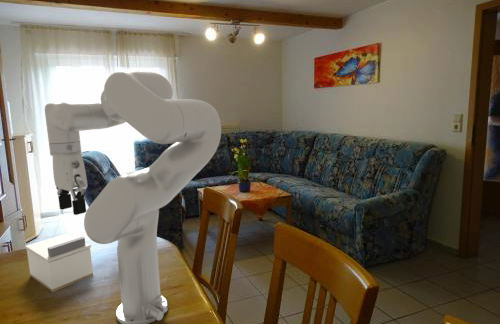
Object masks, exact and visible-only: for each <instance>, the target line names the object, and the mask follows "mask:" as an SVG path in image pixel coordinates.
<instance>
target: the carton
mask: <svg viewBox="0 0 500 324" xmlns="http://www.w3.org/2000/svg"><path fill="white" fill-rule="evenodd" d="M26 253H27V261H28V262H27V263H28V267H29V273H30V274H29V275H30V277H31V278H33V279H34V280H36V281H37V282H38V283H39V284H41V285H42V286H43V287H45V288H46V289H47V290H49V291H50V292H51V293H54V292H57V291H59V290H62V289H64V288H66V287H68V286H70V285H73V284H75V283H78V282H81V281H82V280H85V279H88V278H90V277H92V276H94V273H93V271H94V270H93V263H92V252H91V248H88V249H85V250H82V251H79V252H77V253H74V254H71V255H68V256H65V257H62V258H60V259H57V260H54V261H51V262H47V261H45V260H43V259H42V258H40V257H39V256H37V255H35V254H34V253H32V252H31V251H29V250H28V249H26Z"/></svg>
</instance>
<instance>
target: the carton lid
mask: <svg viewBox="0 0 500 324" xmlns="http://www.w3.org/2000/svg"><path fill="white" fill-rule="evenodd" d="M88 248H90V249H91V248H92V245H91V244H90V243H87V242H86V238H85V237H83V236H80V237H75V236H72V235H71V234H69V233H66V232H65V233H64V234H60V235H57V236H54V237H50V238H47V239H44V240H43V239H42V240H40V241H37V242H34V243H30V244H27V245H25V249H26V250H27V249H28V250H29V251H31V252H32V253H34V254H35V255H37V256H39V257H40V258H42V259H43V260H45V261H47V262H51V261H54V260H57V259H60V258H62V257H65V256H68V255H71V254H74V253H77V252H79V251H82V250H85V249H88Z"/></svg>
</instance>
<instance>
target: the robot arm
mask: <svg viewBox="0 0 500 324" xmlns="http://www.w3.org/2000/svg"><path fill="white" fill-rule="evenodd" d="M44 116H45V122H46V123H45V124H46V132H47V140H48V141H47V142H48V147H49V156H52V170H53V171H52V173H53V179H54V180H53V181H54V186H55V188H56V190H57V193H56V194H57V195H58V205H59V206H58V207H59V210H61V211H63V210H66V209H69V208H70V209H71V208H72V213H73V215H74V216H78V215H81V214H84V213H85V214H84V219H83V227H84V230H85V233H86V236H87V237H88V238H89V239H90V240H91V241H92V242H94V243H96V244H100V245H108V244H112V243H114V242H116V241H117V248H116V250H117V251H116V253H117V256H116V257H117V265H118V276H119V277H118V278H119V287H120V296H121V297H120V299H121V304H120V305H119V306H118V307H117V308H116V312H115V315H116V319H117V321H118V322H119V323H120V324H150V323H153V322H155V321H161V320H163V318H164V315H165V313H167V311H168V309H169V308H168V301H167V299H166V298H165V297H164V296H163V295H162V294H161V282H160V272H159V271H160V269H159V267H160V266H159V257H158V256H159V255H158V238H157V237H158V236H157V235H158V233H157V232H158V224H159V214H160V209H161V208H163V207H165V206H166V205H168V204H169V203H170V202H171V201H172V200H173V199H174V198H175V197H176V196H177V195H178V194H179V193H180V192H181V191H182V190H183V189H184V188H185V187H186V186H187V185H188V184H189V183H190V182H191V181H192V179H193V178H195V176H196V175H197V174H198V173H199V172H201V170H202V169H203V168H204V167H206V165H208V164H209V162H210V161H211V159H212V158H213V157H214V155H215V153H216V152H217V150H218V148H219V145H220V142H221V139H222V138H221V136H222V123H221V118H220V115H219V113H218V111H217V110H216V108H215V107H214V106H213V105H211V104H210V103H209V102H207V101H204V100H200V99H194V98H192V99H191V98H185V99H184V98H174V99H173V87H172V85H171V82H170V81H169V80H168V79H167V78H166V77H165V76H163V75H162V74H160V73H158V72H157V73H156V72H152V71H141V70H134V69H133V70H132V69H131V70H129V69H121V70H117V71H115V72H114V71H113V73H112V74H110V75H109V76H108V77H107V79H106V81H105V84H104V87H103V91H102V92H101V95H100V100H78V101H75V100H71V101H62V102H51V103H50V102H49V103H46V104H45V105H44ZM125 123H126V124H129V126H131V127H132V128H133V129H134V130H135V131H137V132H139V133H140V134H141V135H142V136H144V138H146V139H147V140H149V141H151V142H153V143H155V144H160V145H168V144H171V145H170V146H169V147H168V148H166V149H164V151H163V152H162V153H161V154H160V155H159V156H158V158H157V159H156V160H155V161H153V163H152V164H150V165H149V166H147V167H146V168H143V169H139V170H134V171H130V172H125V173H123V174H121V175H117V177H115V178H113V179H112V180H110V181H109V182H108V183H107V184H106V186H104V188H103V189H102V190H101V192H100V193H99V194H98V195H97V196H96V198H95V199H94V200H93V201H92V203H91V204H90V205H89V206H88V208H87V206H86V205H87V204H86V193H87V192H86V191H87V189H88V179H87V172H86V168H85V162H84V159H83V155H82V145H81V137H80V132H81V131H91V130H92V131H93V130H101V129H108V128H109V129H110V128H112V127H116V126H120V125H122V124H125ZM118 240H119V242H118Z"/></svg>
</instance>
